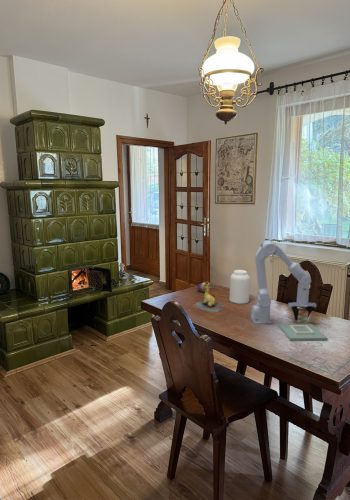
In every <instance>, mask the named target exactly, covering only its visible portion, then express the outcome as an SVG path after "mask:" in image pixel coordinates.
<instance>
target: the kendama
mask: <svg viewBox="0 0 350 500" xmlns="http://www.w3.org/2000/svg"><path fill="white" fill-rule="evenodd" d="M202 283H203V282H202ZM202 283H198V284H197V291H199V292H200V293H205V291H206V289H203V290H202V289H201V285H202ZM209 294H210V295H211V296H213V297H214V298H215V297H216V294H215V293H213V292H210V291H209Z"/></svg>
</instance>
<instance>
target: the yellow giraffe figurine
mask: <svg viewBox="0 0 350 500" xmlns="http://www.w3.org/2000/svg"><path fill="white" fill-rule="evenodd" d="M209 285H210V282H209V281H205V282H202V285H201V289H202V290H203V289H206V291H205V292H203V293H204V295H203V299H202V300H201V301H198V302H196V303H195V304H194V306H197V308H198V309H200V310H202V311H208V312H217V313H218V312H220V311H221V310H223V307H221V306H225V304H224V303H222V302H216V298H215V297H213V296H211V295H210V294H209V292H210V288H209ZM212 307H213V308H212ZM218 307H219V308H218Z"/></svg>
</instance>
